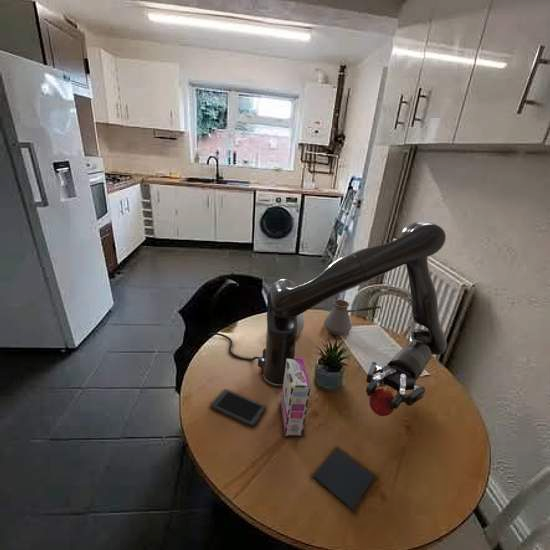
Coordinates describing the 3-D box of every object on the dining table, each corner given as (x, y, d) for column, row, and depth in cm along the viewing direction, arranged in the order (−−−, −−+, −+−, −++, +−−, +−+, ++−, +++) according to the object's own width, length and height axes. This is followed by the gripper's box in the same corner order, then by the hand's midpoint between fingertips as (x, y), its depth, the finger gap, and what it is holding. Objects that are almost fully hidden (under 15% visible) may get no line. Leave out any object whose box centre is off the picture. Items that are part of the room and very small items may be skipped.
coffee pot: (320, 333, 126) (325, 301, 121) (325, 320, 136) (330, 290, 131) (374, 347, 121) (382, 313, 115) (375, 332, 131) (382, 300, 125)
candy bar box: (303, 436, 80) (311, 387, 74) (284, 436, 80) (290, 387, 74) (297, 403, 91) (303, 357, 84) (280, 403, 90) (285, 357, 84)
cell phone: (224, 390, 93) (224, 388, 93) (265, 408, 88) (266, 406, 88) (210, 407, 87) (210, 405, 87) (253, 427, 82) (253, 425, 81)
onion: (393, 426, 72) (401, 399, 68) (367, 421, 72) (374, 394, 69) (389, 407, 77) (396, 382, 74) (365, 402, 78) (372, 377, 75)
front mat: (313, 477, 71) (314, 476, 70) (336, 449, 78) (337, 448, 78) (353, 510, 65) (353, 509, 64) (373, 477, 72) (374, 476, 72)
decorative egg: (273, 324, 130) (275, 292, 125) (301, 326, 130) (306, 294, 125) (271, 341, 119) (274, 306, 113) (303, 343, 119) (308, 309, 113)
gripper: (384, 342, 85) (354, 370, 73) (439, 367, 77) (415, 404, 64) (378, 364, 88) (349, 395, 76) (431, 391, 79) (407, 430, 67)
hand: (380, 399), depth 70 cm, fingers closed on onion, 5 cm apart
